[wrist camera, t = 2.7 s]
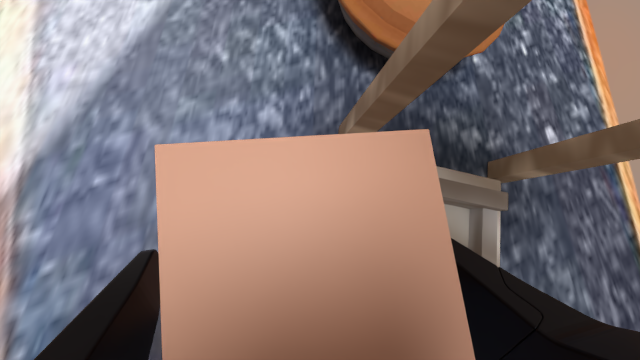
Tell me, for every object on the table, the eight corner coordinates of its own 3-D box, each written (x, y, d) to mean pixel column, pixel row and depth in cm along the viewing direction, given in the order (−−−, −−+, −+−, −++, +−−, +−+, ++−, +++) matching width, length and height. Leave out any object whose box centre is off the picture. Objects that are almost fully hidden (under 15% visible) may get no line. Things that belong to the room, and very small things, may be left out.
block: (323, 271, 17) (483, 400, 4) (245, 285, 16) (167, 512, 3) (313, 197, 18) (428, 128, 5) (238, 205, 17) (154, 144, 4)
